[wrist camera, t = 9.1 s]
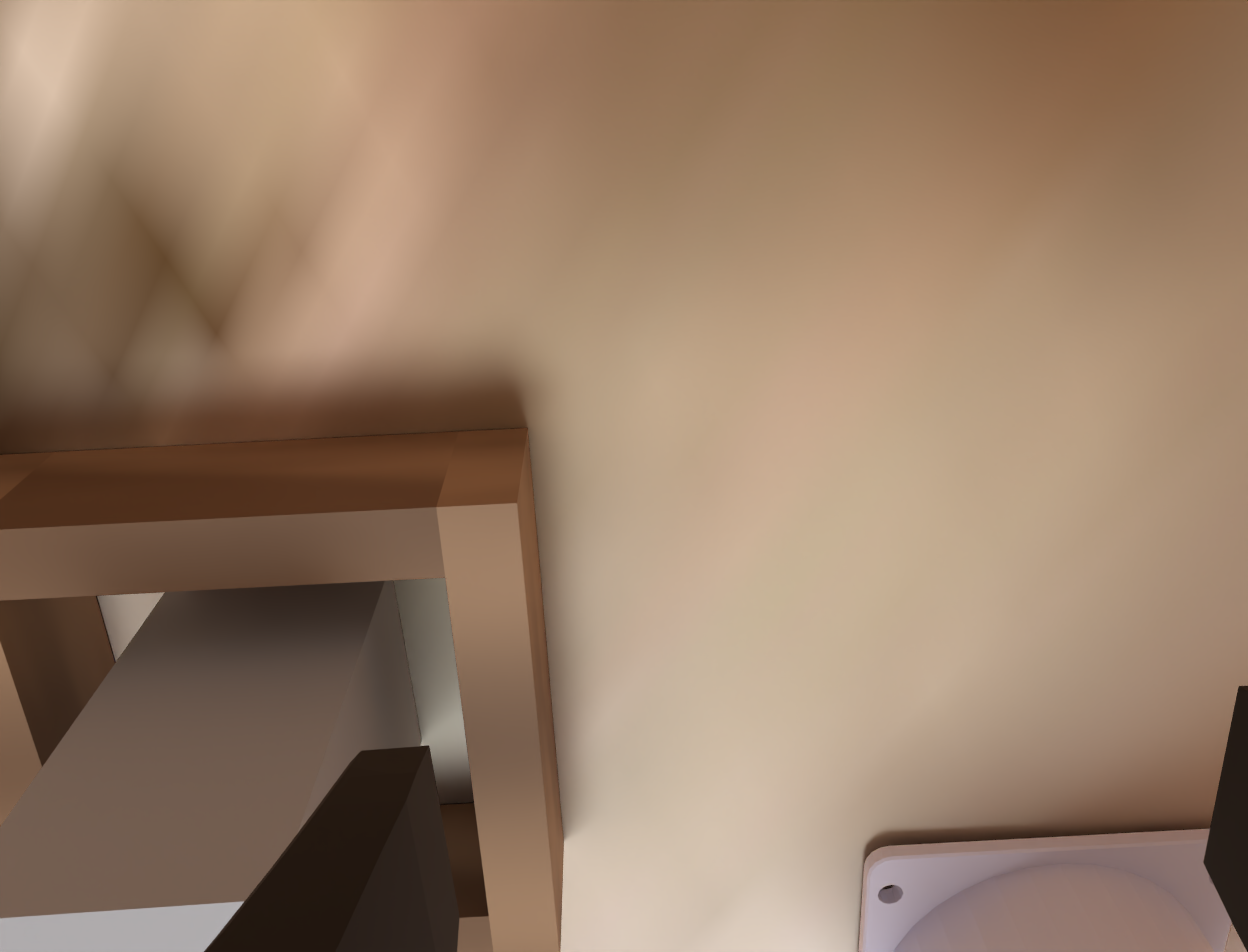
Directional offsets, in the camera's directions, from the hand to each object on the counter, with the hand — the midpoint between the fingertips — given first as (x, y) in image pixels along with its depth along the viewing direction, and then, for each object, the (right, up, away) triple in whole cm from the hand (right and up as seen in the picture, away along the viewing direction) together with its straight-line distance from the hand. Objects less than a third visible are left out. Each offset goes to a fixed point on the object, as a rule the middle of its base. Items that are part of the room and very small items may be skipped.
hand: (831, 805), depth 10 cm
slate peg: (-8, -1, +11) cm, 14 cm away
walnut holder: (-8, -1, +11) cm, 14 cm away
